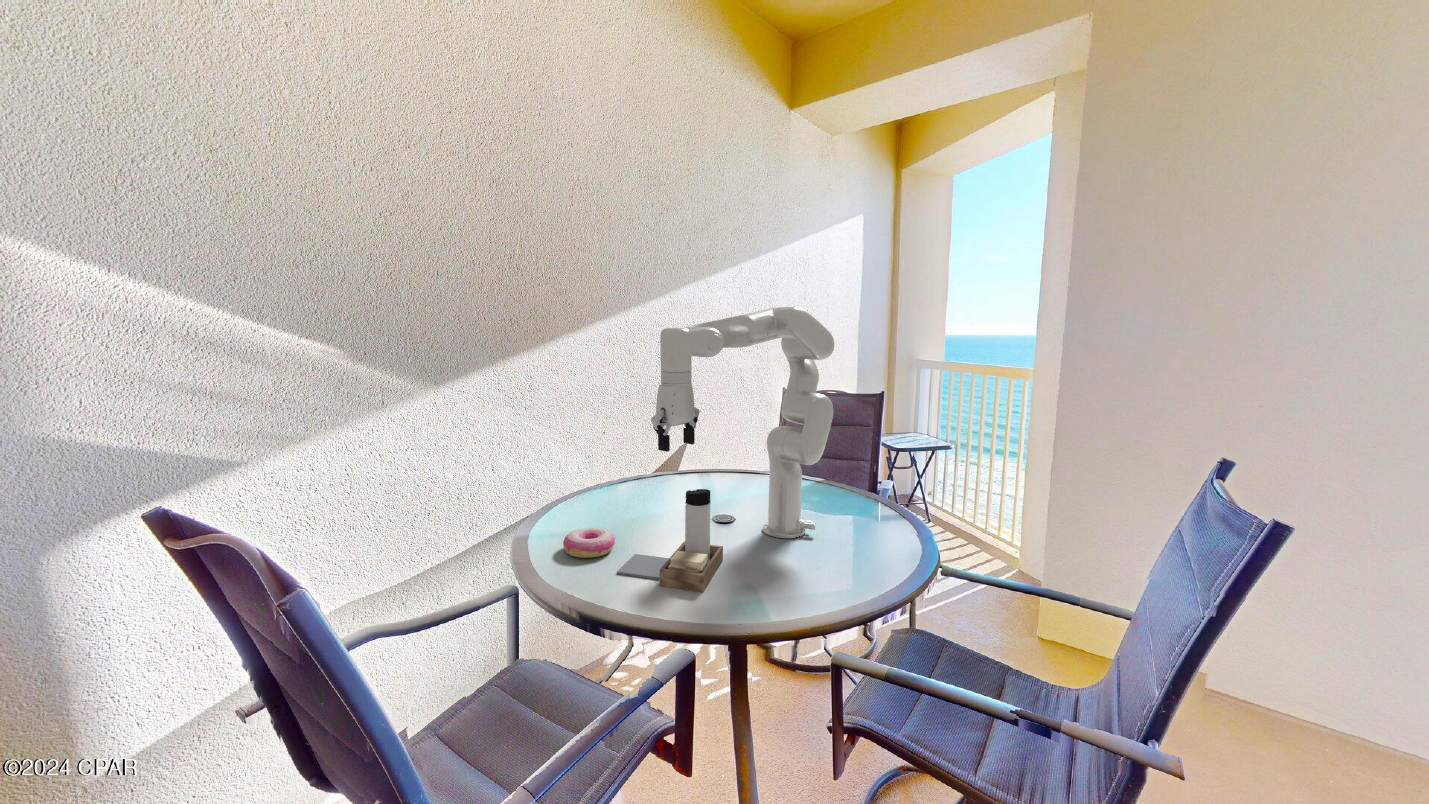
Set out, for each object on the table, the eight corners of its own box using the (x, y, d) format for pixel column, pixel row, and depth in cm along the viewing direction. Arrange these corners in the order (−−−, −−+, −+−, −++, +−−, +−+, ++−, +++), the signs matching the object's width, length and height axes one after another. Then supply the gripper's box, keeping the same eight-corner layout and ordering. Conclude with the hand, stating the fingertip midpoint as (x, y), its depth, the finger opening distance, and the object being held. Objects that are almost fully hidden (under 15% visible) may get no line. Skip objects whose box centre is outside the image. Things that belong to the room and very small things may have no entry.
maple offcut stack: (707, 578, 129) (707, 554, 128) (701, 587, 124) (701, 562, 123) (675, 573, 131) (675, 550, 130) (668, 582, 126) (668, 558, 126)
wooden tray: (722, 560, 138) (723, 546, 138) (703, 592, 122) (703, 575, 121) (683, 555, 141) (683, 541, 141) (659, 585, 124) (659, 569, 124)
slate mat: (674, 561, 138) (674, 559, 138) (659, 579, 127) (659, 577, 127) (635, 556, 141) (635, 553, 141) (616, 573, 130) (616, 571, 130)
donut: (619, 557, 140) (619, 539, 140) (567, 565, 135) (567, 546, 134) (609, 539, 152) (609, 522, 152) (560, 545, 147) (560, 528, 147)
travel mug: (692, 573, 131) (692, 494, 128) (681, 563, 137) (681, 487, 134) (714, 568, 134) (715, 491, 131) (703, 558, 140) (703, 484, 137)
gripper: (686, 375, 140) (686, 439, 143) (640, 380, 126) (641, 451, 129) (709, 376, 136) (709, 443, 138) (664, 382, 122) (665, 455, 124)
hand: (676, 447), depth 134 cm, fingers open, 9 cm apart
